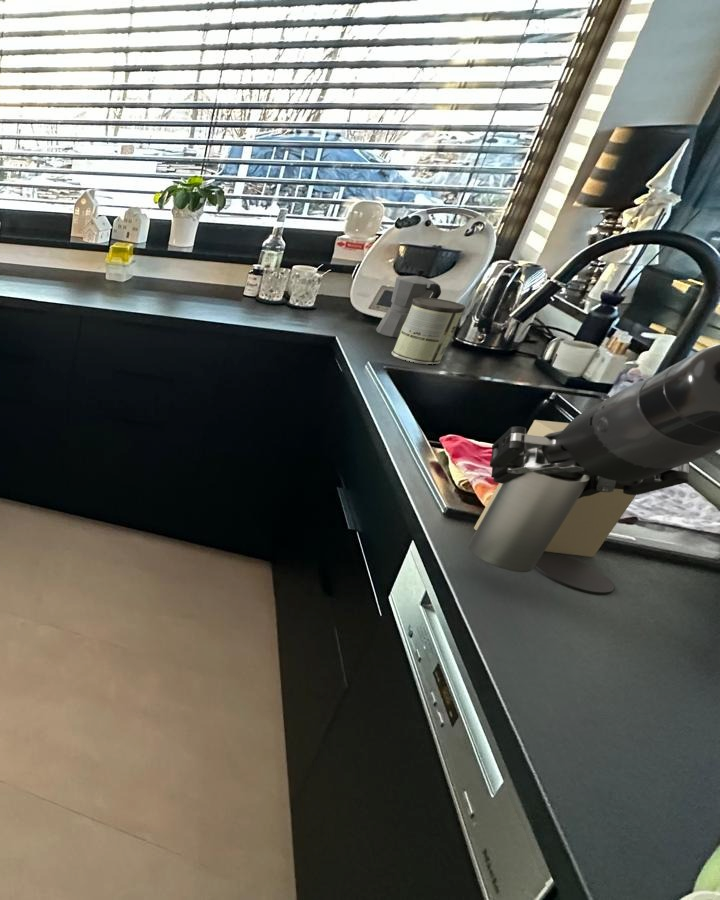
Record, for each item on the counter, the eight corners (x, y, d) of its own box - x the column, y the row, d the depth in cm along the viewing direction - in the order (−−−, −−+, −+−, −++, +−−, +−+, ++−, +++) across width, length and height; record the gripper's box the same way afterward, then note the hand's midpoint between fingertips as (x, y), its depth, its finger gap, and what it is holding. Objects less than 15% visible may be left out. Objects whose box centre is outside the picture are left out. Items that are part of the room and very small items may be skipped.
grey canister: (510, 544, 76) (567, 450, 70) (546, 575, 70) (611, 476, 64) (456, 538, 76) (508, 444, 70) (488, 568, 71) (547, 470, 65)
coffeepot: (363, 326, 181) (387, 263, 173) (394, 327, 181) (420, 264, 173) (400, 343, 167) (429, 276, 159) (434, 344, 168) (464, 277, 159)
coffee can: (387, 348, 163) (409, 294, 156) (434, 355, 159) (459, 301, 152) (394, 359, 155) (418, 303, 148) (444, 367, 151) (471, 310, 144)
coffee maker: (564, 548, 85) (642, 430, 76) (646, 613, 73) (749, 483, 65) (468, 536, 86) (534, 419, 78) (535, 599, 75) (620, 470, 66)
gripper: (763, 407, 54) (618, 467, 69) (552, 374, 59) (460, 437, 74) (762, 487, 52) (614, 531, 67) (544, 446, 57) (452, 496, 72)
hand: (534, 482), depth 70 cm, fingers closed on grey canister, 6 cm apart
